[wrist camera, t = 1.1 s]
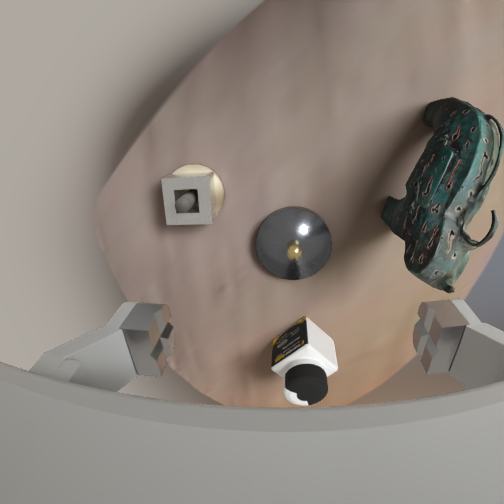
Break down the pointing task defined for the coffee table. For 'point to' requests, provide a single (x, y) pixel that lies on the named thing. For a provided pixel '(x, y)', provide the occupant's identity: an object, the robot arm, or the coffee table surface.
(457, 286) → the coffee table surface
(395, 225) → the bull figurine
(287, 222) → the hub
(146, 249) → the coffee table surface
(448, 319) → the robot arm
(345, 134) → the coffee table surface
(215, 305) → the coffee table surface
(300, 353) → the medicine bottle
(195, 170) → the stand
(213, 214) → the square tunnel block
